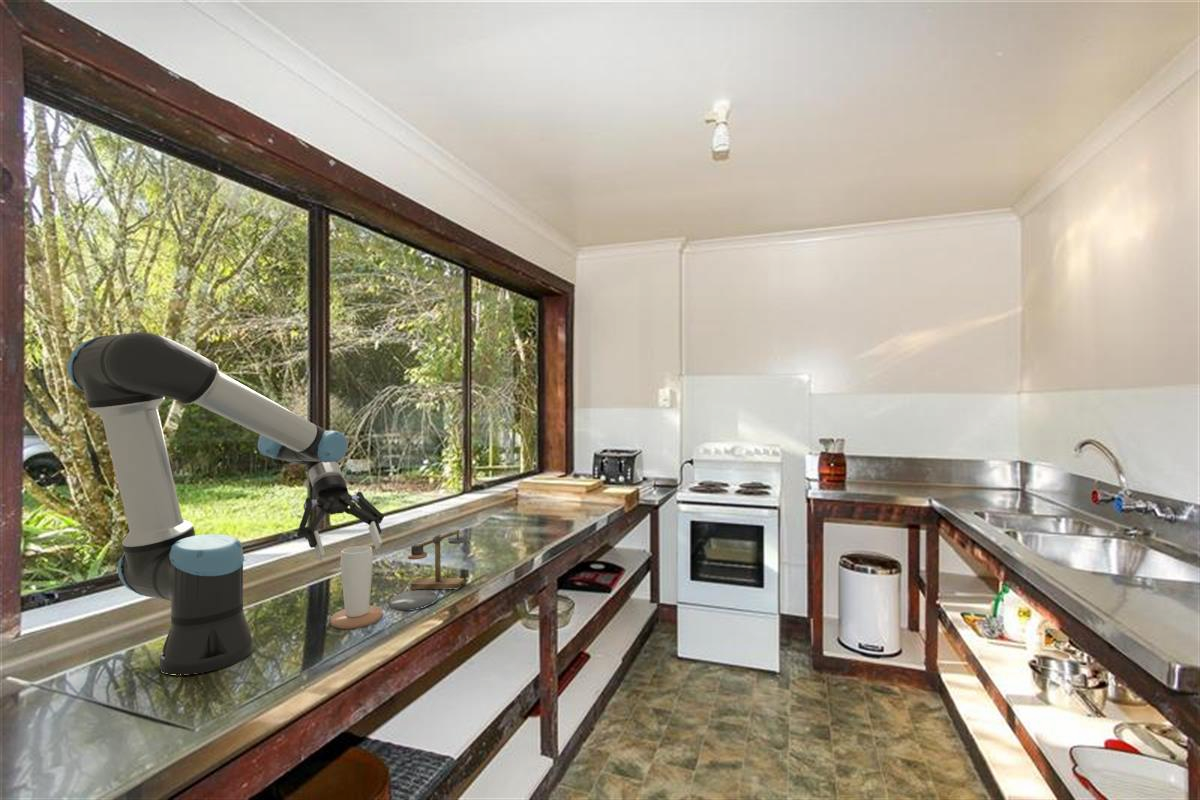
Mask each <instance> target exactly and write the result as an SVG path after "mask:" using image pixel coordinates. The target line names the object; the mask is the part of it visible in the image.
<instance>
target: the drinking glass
mask: <svg viewBox="0 0 1200 800" xmlns="http://www.w3.org/2000/svg"><path fill="white" fill-rule="evenodd" d="M373 557H374V556H373V547H372V546H369V545H358V546H357V545H356V546H350V547H345V548H344V549H341V550H340V573H341V582H342V583H341V585H342V592H343V593H342V594H343V604H344V605H343V606H344V611H345V615H346V616H347V617H360V616H363V615H366V614H367V613H368V612H369V610H370V602H371V591H372V590H371V589H372V579H373V578H372V576H373V566H374V565H373V564H374V563H373V560H374V559H373Z"/></svg>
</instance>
